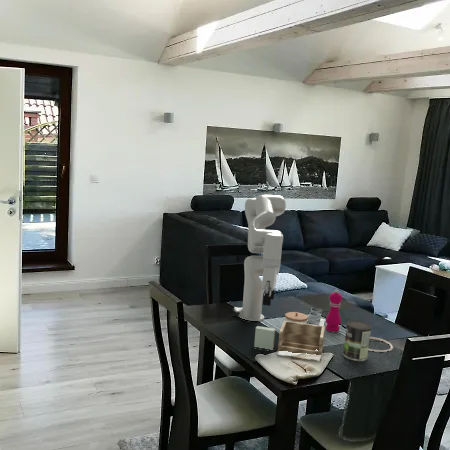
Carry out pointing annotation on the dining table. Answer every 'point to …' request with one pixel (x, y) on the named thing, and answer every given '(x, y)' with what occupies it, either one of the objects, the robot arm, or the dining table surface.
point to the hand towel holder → (383, 341)
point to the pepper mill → (334, 312)
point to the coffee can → (357, 340)
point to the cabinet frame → (301, 338)
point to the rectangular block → (264, 337)
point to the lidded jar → (296, 317)
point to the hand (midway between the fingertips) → (268, 301)
